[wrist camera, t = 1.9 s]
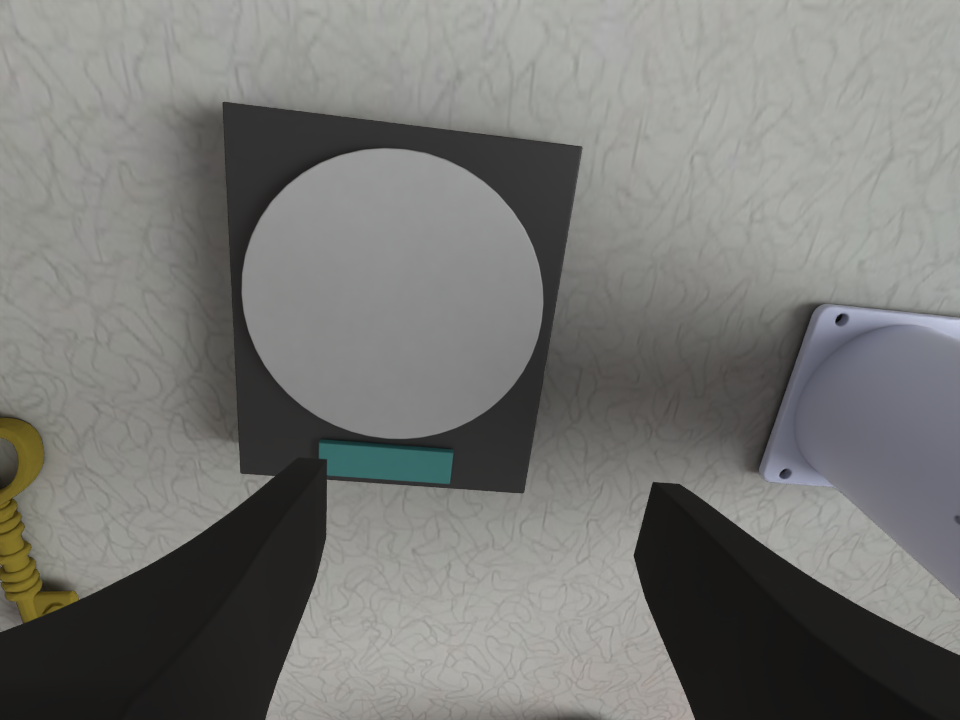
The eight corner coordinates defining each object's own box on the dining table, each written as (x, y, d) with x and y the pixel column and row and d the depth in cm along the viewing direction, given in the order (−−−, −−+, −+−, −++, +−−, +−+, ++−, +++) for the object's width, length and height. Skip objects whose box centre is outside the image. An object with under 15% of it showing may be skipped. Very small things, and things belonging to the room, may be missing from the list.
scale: (570, 145, 19) (586, 146, 17) (518, 466, 24) (525, 501, 22) (245, 105, 18) (215, 100, 16) (257, 447, 23) (235, 481, 21)
